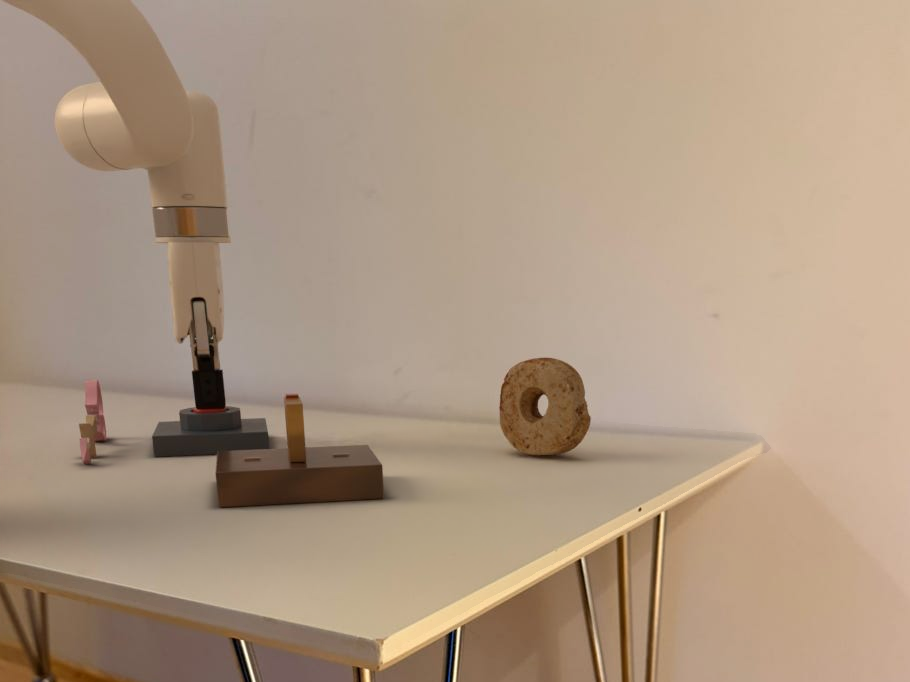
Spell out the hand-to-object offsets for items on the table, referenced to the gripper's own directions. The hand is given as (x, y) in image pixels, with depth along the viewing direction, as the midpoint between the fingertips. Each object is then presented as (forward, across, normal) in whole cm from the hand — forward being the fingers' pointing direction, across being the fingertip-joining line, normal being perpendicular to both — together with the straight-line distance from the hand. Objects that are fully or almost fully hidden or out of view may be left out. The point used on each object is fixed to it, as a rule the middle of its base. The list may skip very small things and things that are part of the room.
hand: (211, 407), depth 108 cm
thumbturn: (+1, +25, +8) cm, 26 cm away
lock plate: (+4, +25, +8) cm, 27 cm away
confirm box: (+4, 0, 0) cm, 4 cm away
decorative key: (+4, +1, -13) cm, 14 cm away
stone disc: (+4, +14, +34) cm, 37 cm away
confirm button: (+2, 0, 0) cm, 2 cm away
